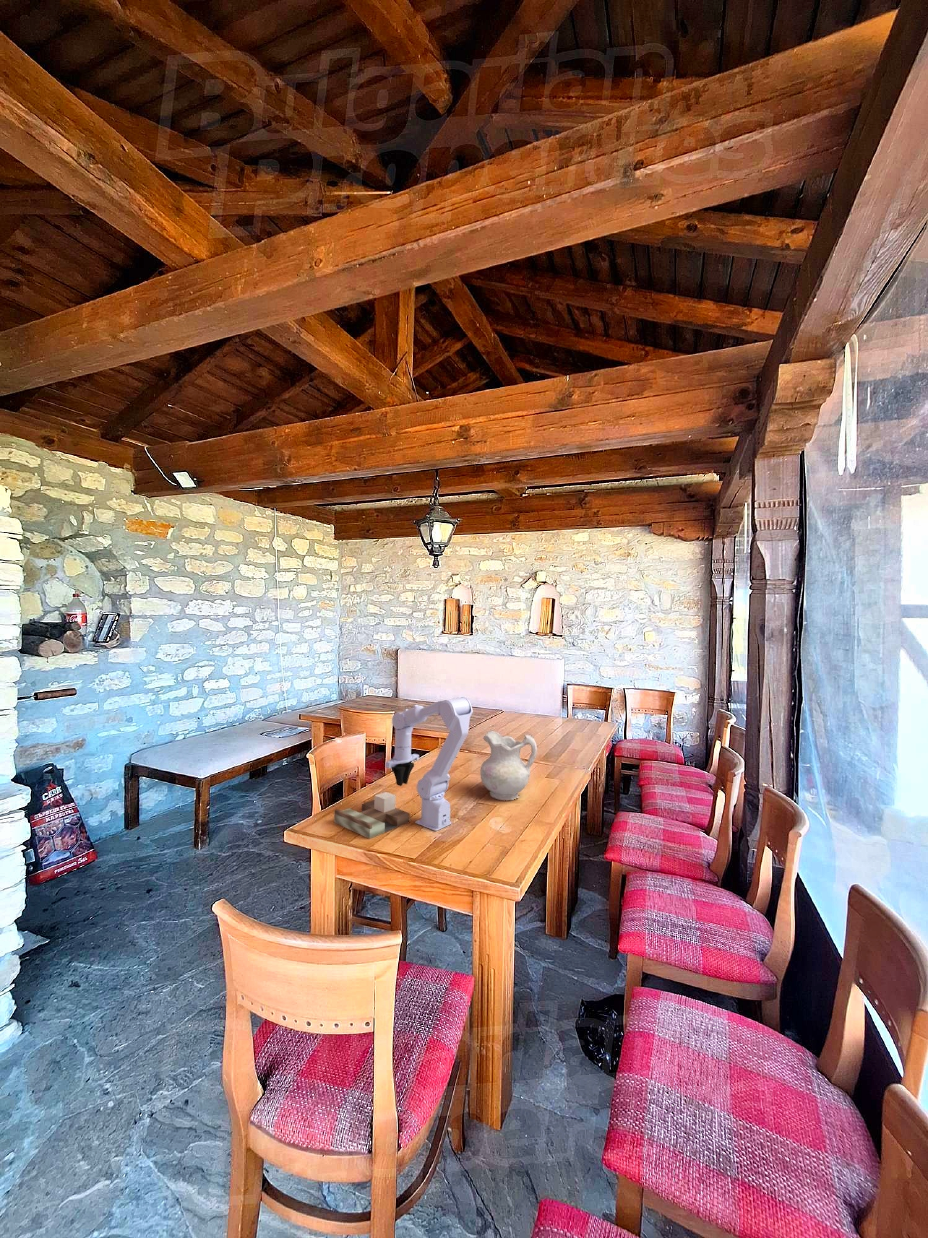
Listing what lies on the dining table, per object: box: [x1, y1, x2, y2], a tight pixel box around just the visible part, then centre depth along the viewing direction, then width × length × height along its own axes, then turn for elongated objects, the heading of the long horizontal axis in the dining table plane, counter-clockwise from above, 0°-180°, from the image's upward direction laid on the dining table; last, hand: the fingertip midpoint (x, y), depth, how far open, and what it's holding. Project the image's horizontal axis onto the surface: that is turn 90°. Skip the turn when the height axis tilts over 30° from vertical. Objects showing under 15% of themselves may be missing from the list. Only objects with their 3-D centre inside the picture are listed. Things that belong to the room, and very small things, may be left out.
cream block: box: [374, 791, 397, 813], centre depth 166 cm, size 5×5×4 cm
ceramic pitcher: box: [479, 730, 538, 802], centre depth 191 cm, size 22×20×25 cm
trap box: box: [333, 799, 411, 840], centre depth 162 cm, size 18×17×4 cm
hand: (401, 784), depth 172 cm, fingers closed
